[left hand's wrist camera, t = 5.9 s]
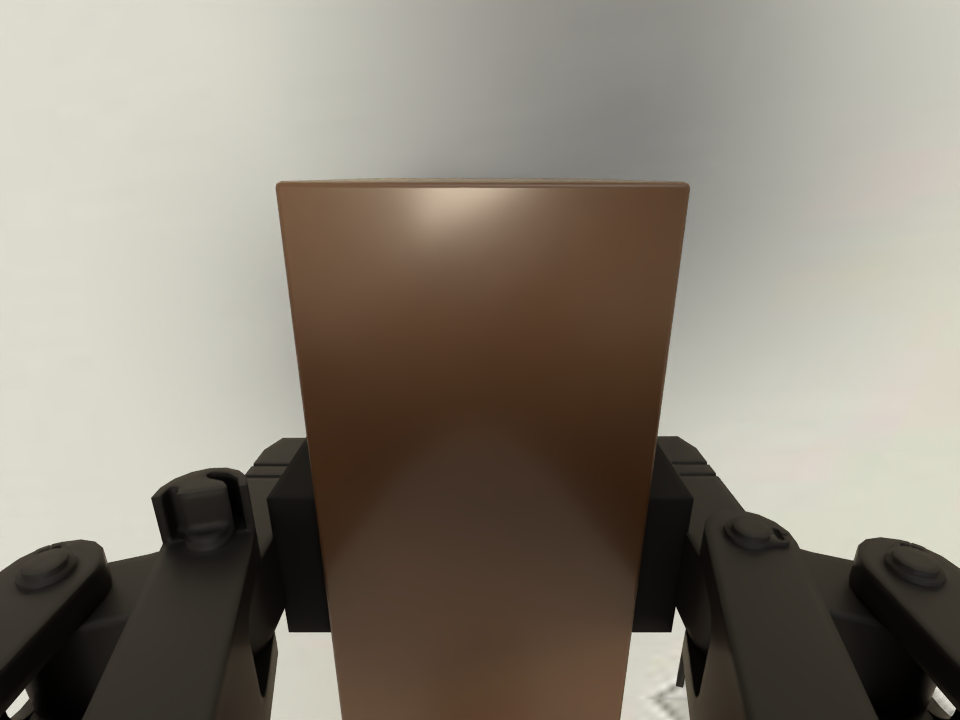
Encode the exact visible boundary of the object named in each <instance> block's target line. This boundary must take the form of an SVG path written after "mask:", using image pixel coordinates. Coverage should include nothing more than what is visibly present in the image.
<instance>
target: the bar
mask: <svg viewBox="0 0 960 720" xmlns="http://www.w3.org/2000/svg"><path fill="white" fill-rule="evenodd" d="M689 192H690V186H689V184H688V183H686V182H671V181H639V180H607V179H552V178H373V179H340V180H307V181H281V182H279V183H277V184H276V195H277V203H278V211H279V219H280V227H281V235H282V243H283V251H284V259H285V267H286V275H287V283H288V291H289V299H290V307H291V315H292V323H293V331H294V339H295V347H296V355H297V363H298V371H299V379H300V387H301V395H302V403H303V411H304V419H305V427H306V435H307V443H308V451H309V459H310V467H311V475H312V483H313V491H314V499H315V507H316V515H317V523H318V531H319V539H320V547H321V555H322V563H323V571H324V579H325V587H326V595H327V603H328V611H329V619H330V627H331V635H332V643H333V651H334V659H335V667H336V675H337V682H338V690H339V698H340V706H341V714H342V720H620V716H621V709H622V701H623V693H624V686H625V678H626V671H627V663H628V655H629V648H630V640H631V633H632V625H633V617H634V610H635V602H636V595H637V587H638V579H639V572H640V564H641V557H642V549H643V541H644V534H645V526H646V519H647V511H648V503H649V496H650V488H651V481H652V473H653V465H654V458H655V450H656V443H657V435H658V427H659V420H660V412H661V405H662V397H663V389H664V382H665V374H666V367H667V359H668V351H669V344H670V336H671V329H672V321H673V313H674V306H675V298H676V291H677V283H678V275H679V268H680V260H681V253H682V245H683V237H684V230H685V222H686V215H687V207H688V200H689Z"/></svg>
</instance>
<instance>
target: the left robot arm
mask: <svg viewBox="0 0 960 720" xmlns="http://www.w3.org/2000/svg"><path fill="white" fill-rule="evenodd" d="M151 499H152V503H153V507H154V511H155V515H156V518H157V522H158V526H159V530H160V534H161V538H162V542H163V545H162V547H161V549H160V551H159V552H156V553H152V554H148V555H143V556H139V557H134V558H129V559H124V560H119V561H115V562H110V563H107V559H106V556H105V553H104V550H103V548H102V547H101V546H100V545H99V544H97V543H96V542H94V541H87V540H74V541H66V542H60V543H56V544H52V545H50V546H49V545H48V546H45V547H43V548H40V549H38V550H36V551H34V552H32V553H30V554H28V555H26V556H24V557H22V558H20V559H18V560H17V561H15V562H14V563H12V564H11V565H9V566H8V567H7V568H5V569H4V570H2V571H1V572H0V720H270V716H271V708H272V699H273V691H274V682H275V674H276V665H277V657H278V649H277V642H276V636H275V629H276V627H277V624H278V622H279V620H280V618H281V615H282V613H283V611H284V609H285V612H286V618H287V624H288V629H289V632H331V627H330V619H329V611H328V603H327V595H326V587H325V579H324V571H323V563H322V555H321V547H320V539H319V531H318V523H317V515H316V507H315V499H314V491H313V483H312V475H311V467H310V459H309V451H308V443H307V437H306V438H282V439H280V440H279V441H277V442H276V443H274V444H273V445H271V446H270V447H268V448H266V449H265V450H264V451H263V452H262V454H261V455H260V456H259V457H258V459H257V460H256V461H255V463H254V466H252V467H251V468H250V469H249V470H248V472H247V473H246V474H245V475H244V474H243V473H242V472H240V471H239V470H234V469H230V468H209V469H204V470H200V471H195V472H191V473H188V474H186V475H183V476H181V477H178V478H176V479H174V480H172V481H170V482H169V483H167V484H166V485H164V486H162V487H161V488H160V489H159V490H158V491H157V492H156V493H155V494H154V495H153V496H152V498H151ZM675 608H677V610H678V612H679V614H680V617H681V619H682V621H683V623H684V625H685V628H686V631H685V636H684V642H683V647H682V653H681V658H680V664H679V669H678V675H677V682H676V686H678V687H683V685H684V680H685V681H686V690H687V698H688V707H689V715H690V720H960V568H958V567H957V566H955V565H954V564H953V563H951V562H950V561H948V560H947V559H945V558H944V557H942V556H940V555H938V554H936V553H934V552H932V551H930V550H928V549H926V548H924V547H922V546H920V545H917V544H914V543H909V542H907V541H903V540H897V539H890V538H882V537H879V538H872V539H866V540H865V541H863V542H862V543H861V544H860V545H858V548H857V551H856V554H855V558H854V561H852V560H847V559H842V558H837V557H833V556H828V555H823V554H818V553H813V552H809V551H806V550H802V549H800V548H799V546H798V544H797V542H796V541H795V540H794V538H793V537H792V536H791V534H790V533H789V532H788V531H787V530H785V529H784V528H783V527H781V526H780V525H778V524H777V523H776V522H774V521H772V520H769V519H767V518H765V517H763V516H760V515H758V514H754V513H750V512H746V511H745V510H744V509H743V508H742V506H741V505H740V504H739V503H738V501H737V500H736V499H735V497H734V496H733V495H732V494H731V492H730V491H729V490H728V488H727V487H726V486H725V485H724V483H723V482H722V481H721V479H720V478H719V477H718V476H716V473H715V472H714V470H713V469H712V468H711V467H710V465H707V461H706V460H705V459H704V458H703V456H702V455H701V454H700V452H699V451H698V450H697V449H696V448H695V447H694V446H692V445H690V444H689V443H687V442H686V441H684V440H683V439H681V438H679V437H678V436H657V443H656V450H655V458H654V465H653V473H652V481H651V488H650V496H649V503H648V511H647V519H646V526H645V534H644V541H643V549H642V557H641V564H640V572H639V579H638V587H637V595H636V602H635V610H634V617H633V625H632V632H671V631H672V625H673V619H674V614H675ZM936 686H937V687H938V688H939V689H940V690H941V691H942V693H943V694H944V695H945V696H946V697H947V698H948V700H949V701H950V702H951V703H952V704H953V705H954V707H955V708H956V710H955V712H954V714H953V715H952V717H951V716H949V715H948V714H947V713H946V712H945V711H944V710H943V709H942V708H941V707H940V706H939V705H938V703H937V702H936V701H935V700H934V699H933V697H932V695H933V693H934V690H935V688H936ZM24 689H26V692H27V694H28V696H29V700H28V701H27V702H26V703H25V705H24V706H23V707H22V708H21V709H20V710H19V711H18V712H17V713H16V714H15V715H14V716H12V717H11V718H9V717H8V716H7V713H6V710H7V709H8V708H9V706H10V705H11V704H12V703H13V702H14V701H15V699H16V698H17V697H18V696H19V695H20V694H21V692H22V691H23V690H24Z"/></svg>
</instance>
